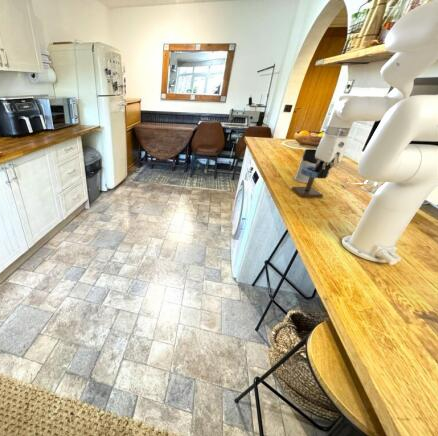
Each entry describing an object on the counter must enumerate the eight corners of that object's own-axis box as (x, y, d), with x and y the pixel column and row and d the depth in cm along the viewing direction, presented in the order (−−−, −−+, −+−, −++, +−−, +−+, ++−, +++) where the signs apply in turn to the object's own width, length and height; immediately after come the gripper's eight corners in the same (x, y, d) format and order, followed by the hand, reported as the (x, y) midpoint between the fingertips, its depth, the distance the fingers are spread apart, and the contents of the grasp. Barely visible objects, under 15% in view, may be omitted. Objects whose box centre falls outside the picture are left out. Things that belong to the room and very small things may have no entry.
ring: (332, 178, 100) (334, 173, 99) (308, 178, 101) (310, 173, 100) (318, 170, 109) (319, 166, 108) (296, 170, 109) (297, 166, 108)
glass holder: (298, 175, 130) (308, 147, 122) (327, 183, 120) (340, 154, 113) (291, 179, 125) (300, 150, 118) (320, 187, 116) (333, 157, 108)
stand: (321, 197, 106) (332, 173, 100) (301, 197, 106) (310, 172, 100) (310, 189, 113) (319, 166, 108) (291, 189, 114) (299, 166, 108)
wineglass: (349, 174, 112) (383, 176, 106) (345, 176, 118) (377, 179, 112) (346, 188, 112) (379, 191, 107) (342, 190, 118) (374, 193, 113)
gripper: (362, 136, 85) (340, 184, 95) (332, 128, 99) (316, 170, 108) (341, 135, 85) (321, 184, 95) (314, 127, 99) (299, 170, 108)
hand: (319, 176), depth 101 cm, fingers closed on ring, 2 cm apart
